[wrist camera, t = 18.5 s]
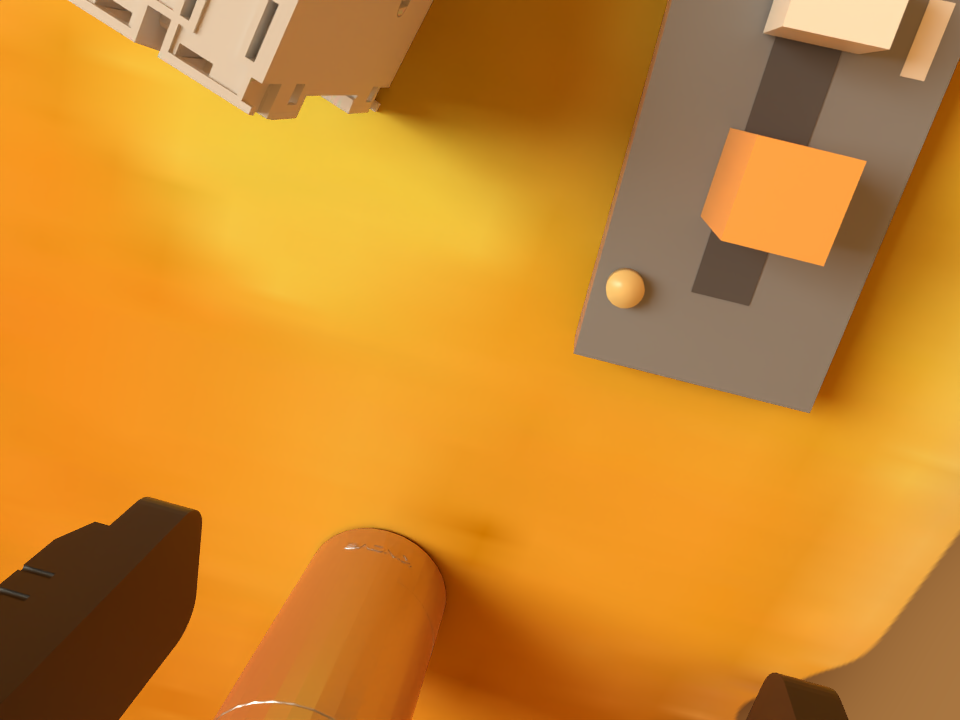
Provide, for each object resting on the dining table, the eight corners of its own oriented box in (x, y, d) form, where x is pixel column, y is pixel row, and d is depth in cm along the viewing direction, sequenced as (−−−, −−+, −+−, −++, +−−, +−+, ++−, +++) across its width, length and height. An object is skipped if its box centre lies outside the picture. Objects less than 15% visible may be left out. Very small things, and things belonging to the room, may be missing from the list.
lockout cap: (786, 237, 33) (823, 266, 28) (700, 216, 34) (720, 240, 28) (819, 149, 32) (866, 161, 26) (729, 127, 32) (757, 134, 27)
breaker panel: (794, 390, 39) (814, 419, 35) (575, 335, 40) (573, 358, 36) (1029, -185, 29) (1087, -223, 26) (735, -242, 30) (753, -287, 27)
